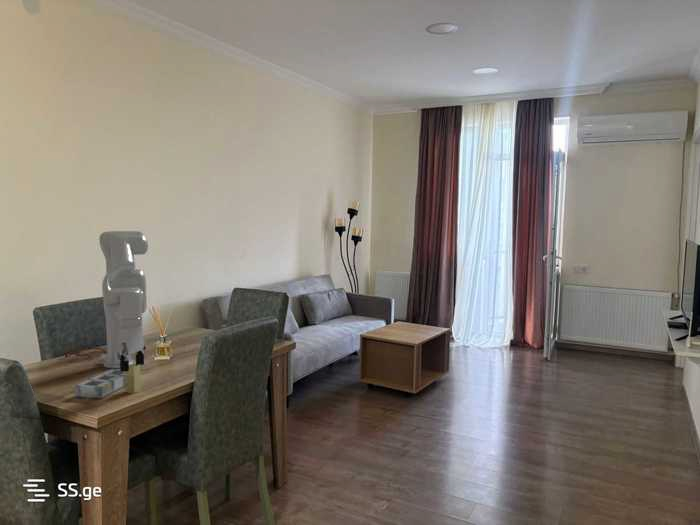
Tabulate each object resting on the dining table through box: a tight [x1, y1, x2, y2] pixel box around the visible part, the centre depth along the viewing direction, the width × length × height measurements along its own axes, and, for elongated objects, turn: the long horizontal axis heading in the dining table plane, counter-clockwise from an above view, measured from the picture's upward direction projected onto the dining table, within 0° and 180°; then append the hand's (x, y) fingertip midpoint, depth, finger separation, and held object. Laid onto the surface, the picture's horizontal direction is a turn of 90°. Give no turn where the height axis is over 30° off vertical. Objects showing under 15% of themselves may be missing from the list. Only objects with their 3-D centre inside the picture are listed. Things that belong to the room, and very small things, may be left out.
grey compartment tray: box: [74, 368, 125, 400], centre depth 201 cm, size 10×22×4 cm, turn 169°
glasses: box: [65, 343, 107, 359], centre depth 250 cm, size 13×13×5 cm
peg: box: [124, 363, 142, 394], centre depth 199 cm, size 4×4×10 cm
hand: (132, 367), depth 198 cm, fingers open, 9 cm apart
